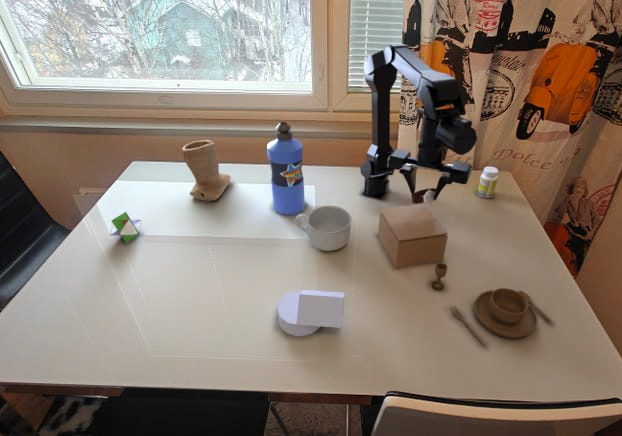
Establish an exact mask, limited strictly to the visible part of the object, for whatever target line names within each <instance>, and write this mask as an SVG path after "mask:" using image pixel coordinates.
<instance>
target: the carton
mask: <svg viewBox="0 0 622 436" xmlns="http://www.w3.org/2000/svg"><path fill="white" fill-rule="evenodd" d="M448 235H449V232H448V231H447V230H446V229H445V227H444V226H443V225H442V223H441V222H440V220H438V218H437V217H435V218H431V219H423V220H416V221H409V222H401V223H394V224H389V225H388V223H387V221H386V220H385V218H384V216H383V214H382V213H381V211H379V219H378V231H377V237H378V239H379V240H380V242H381V244H382V246H383V248H384V250H385V252H386V253H387V256H388V257H389V259H390V261H391V263H392V265H393V266H394V268H395V269H400V268H407V267H414V266H420V265H426V264H432V263H440V262H443V260H444V255H445V252H446V246H447V243H448V237H449V236H448Z"/></svg>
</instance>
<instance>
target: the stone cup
mask: <svg viewBox="0 0 622 436" xmlns="http://www.w3.org/2000/svg"><path fill="white" fill-rule="evenodd" d="M181 152H182V157H183V160H184V162H185V164H186V166H187V167H188V169H189V171H190V172H191V174H192V175H193V177H194V179H195V184H194V186H193V187H192V189H191V190H190V192H189V195H190V196H191V197H194V198H196V199H198V200H200V201H205V202H210V201H211V202H212V201H216V200H217V199H219V198H220V196H221V195H222V194H223V192H224V191H225V190H226V189H227V187H228V186H229V184H230V182H231V179H232V176H231V175H230V174H225V173H220V170H219V169H220V168H219V166H220V165H219V164H220V163H219V162H220V159H219V153H218V150H217V147H216V144H215V143H214V142H213V140H210V139H203V140H195V141H192V142H189V143H187V144H185V145H184V146H183V147H182V149H181Z"/></svg>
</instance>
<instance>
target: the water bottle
mask: <svg viewBox="0 0 622 436" xmlns="http://www.w3.org/2000/svg"><path fill="white" fill-rule="evenodd" d="M291 128H292V126H291V125H290V124H289V123H288V122H286V121H281V122H279V123H278V124H277V125H276V126H275V139H274V140H271V141H269V142H268V143H267V145H266V152H267V159H268V161H269V165H270V170H271V177H270V184H271V196H272V204H273V210H274V211H275V212H276V213H277V214H279V215H280V214H281V215H287V216H289V215H290V216H291V215H292V216H293V215H297V214H300V213H301V212H302V211H303V210H304V209H305V207H306V201H305V200H306V197H305V180H304V175H303V170H302V169H303V158H304V147H303V142H302V141H300V140H299V139H297V138H293V130H292V129H291Z"/></svg>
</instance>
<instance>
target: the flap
mask: <svg viewBox="0 0 622 436" xmlns="http://www.w3.org/2000/svg"><path fill="white" fill-rule="evenodd" d="M379 210H380V211H379V212H381V213H382V214H383V216H384V218H385V220H386V221H387V223H388V225H389V224H394V223H401V222H409V221H416V220H423V219H431V218H436V216H435V215H434V214H433V212H432V211H431V209H430V208H429V207H428V206H427V203H418V204H412V205H403V206H396V207H387V208H380V209H379Z"/></svg>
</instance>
